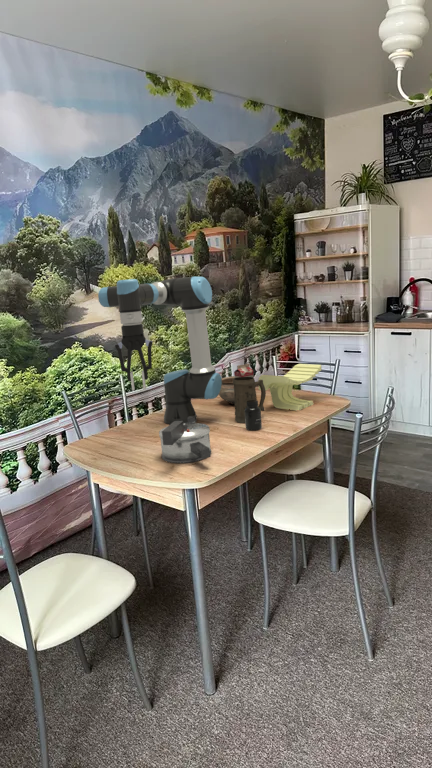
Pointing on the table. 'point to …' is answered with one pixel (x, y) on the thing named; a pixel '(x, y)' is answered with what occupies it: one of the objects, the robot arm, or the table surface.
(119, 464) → the table surface
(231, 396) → the cooking pot
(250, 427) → the supplement bottle
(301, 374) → the slatted curved stool
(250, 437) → the table surface
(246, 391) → the beer stein
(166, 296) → the robot arm
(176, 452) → the pot
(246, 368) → the juice carton
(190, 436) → the lid
